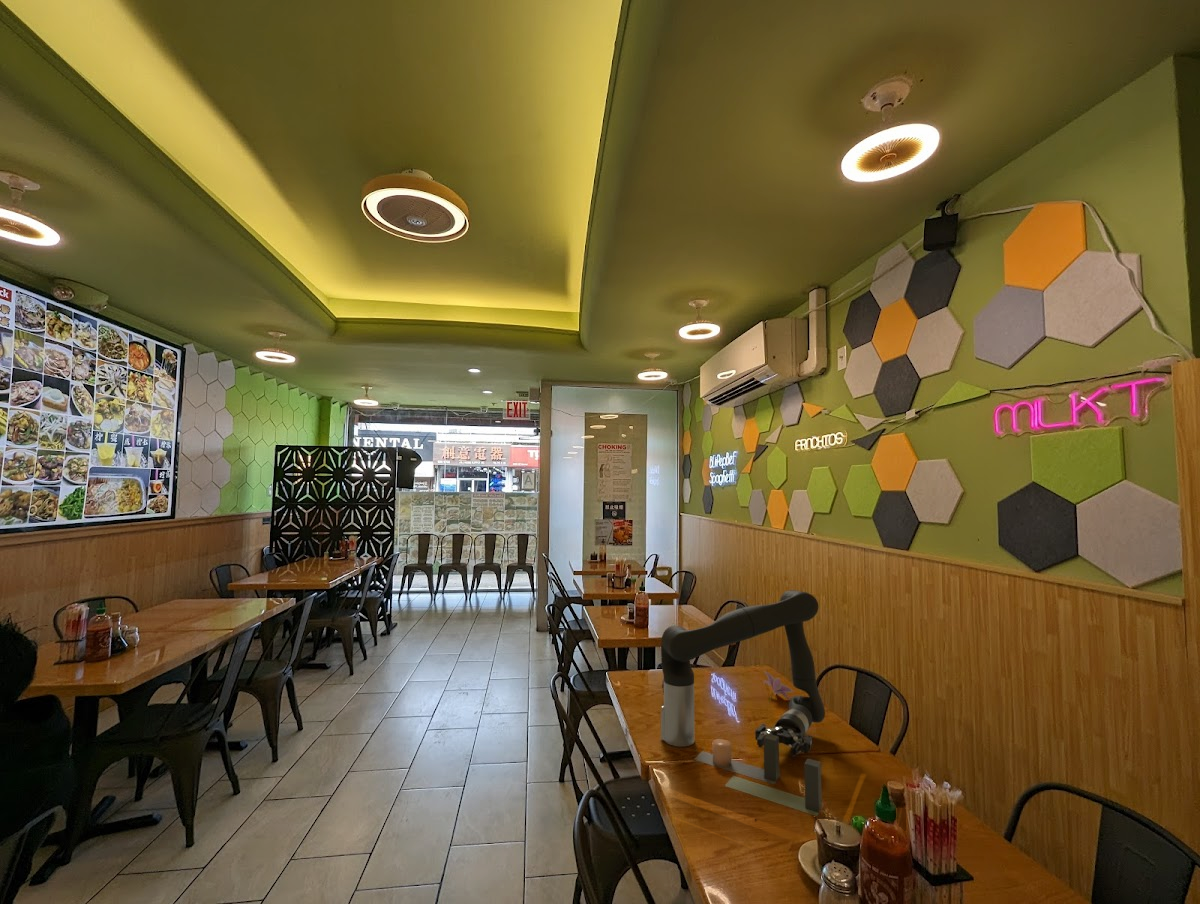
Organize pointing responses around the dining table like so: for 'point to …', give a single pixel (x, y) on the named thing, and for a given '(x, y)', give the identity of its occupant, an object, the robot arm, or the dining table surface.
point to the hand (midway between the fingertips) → (775, 748)
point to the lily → (777, 686)
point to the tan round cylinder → (721, 752)
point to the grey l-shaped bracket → (766, 774)
